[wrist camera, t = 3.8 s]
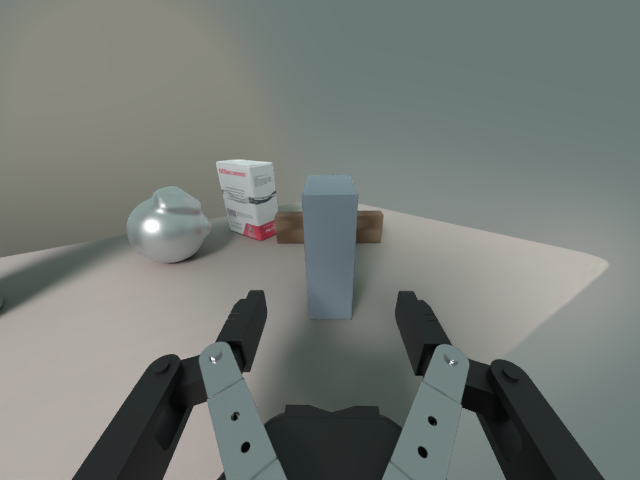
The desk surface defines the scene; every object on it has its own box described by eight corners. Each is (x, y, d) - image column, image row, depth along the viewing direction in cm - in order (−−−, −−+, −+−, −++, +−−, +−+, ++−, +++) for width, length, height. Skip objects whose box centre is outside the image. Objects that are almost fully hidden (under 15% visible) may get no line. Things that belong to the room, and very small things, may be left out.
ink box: (282, 231, 40) (274, 160, 34) (260, 242, 36) (248, 165, 31) (250, 221, 44) (239, 157, 39) (228, 230, 41) (213, 161, 35)
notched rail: (277, 243, 35) (274, 216, 33) (280, 237, 37) (277, 211, 35) (380, 242, 35) (383, 215, 33) (377, 236, 37) (380, 210, 35)
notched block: (309, 319, 21) (301, 195, 16) (312, 275, 28) (308, 175, 22) (351, 319, 21) (358, 194, 16) (345, 275, 28) (349, 174, 22)
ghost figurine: (199, 275, 28) (174, 197, 24) (125, 276, 28) (86, 199, 24) (227, 242, 36) (212, 179, 32) (169, 243, 36) (146, 180, 32)
